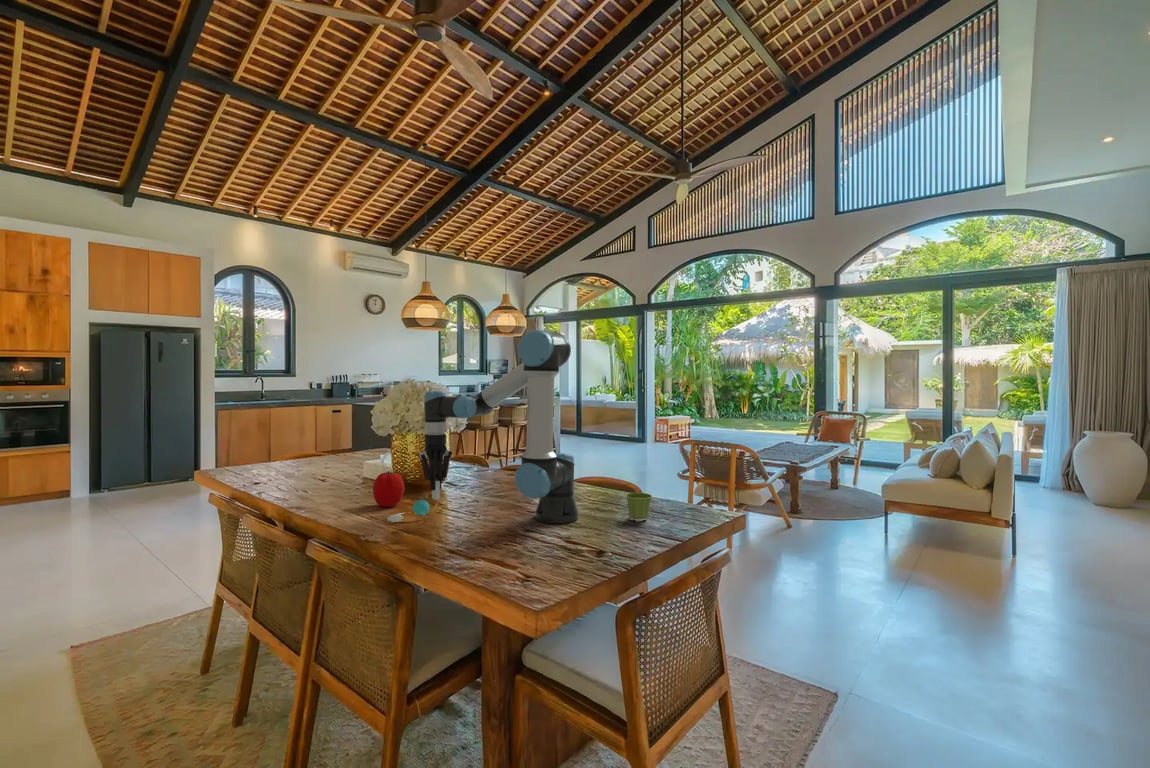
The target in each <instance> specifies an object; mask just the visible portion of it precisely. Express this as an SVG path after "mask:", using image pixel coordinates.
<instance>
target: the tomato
mask: <svg viewBox="0 0 1150 768" xmlns="http://www.w3.org/2000/svg"><path fill="white" fill-rule="evenodd" d="M405 489H406V488H405V482H404V479H403V477H402V476H401V474H399V473H397V472H396V471H394V472H392V471H390V470H388V471H386V472H381V473H380V474H379V475H378V476H377V477H376V478H375V479H374V482H373V485H372V494H373V499H374V500H375V503H376V504H377V505H378V506H380V507H383V508H392V507H394V506H397V505H398V504H399V503H400V502H401V500H402V498H403V497H404V494H405Z"/></svg>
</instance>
